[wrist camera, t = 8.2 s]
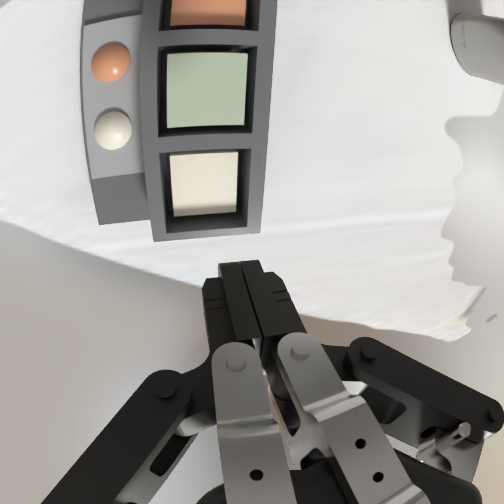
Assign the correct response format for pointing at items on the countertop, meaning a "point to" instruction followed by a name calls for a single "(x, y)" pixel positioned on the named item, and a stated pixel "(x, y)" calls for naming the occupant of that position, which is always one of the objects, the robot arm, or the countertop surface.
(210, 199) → the key cream
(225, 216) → the keypad
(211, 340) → the robot arm
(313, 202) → the countertop surface
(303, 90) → the countertop surface
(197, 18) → the key terracotta
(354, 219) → the countertop surface
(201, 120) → the key sage
